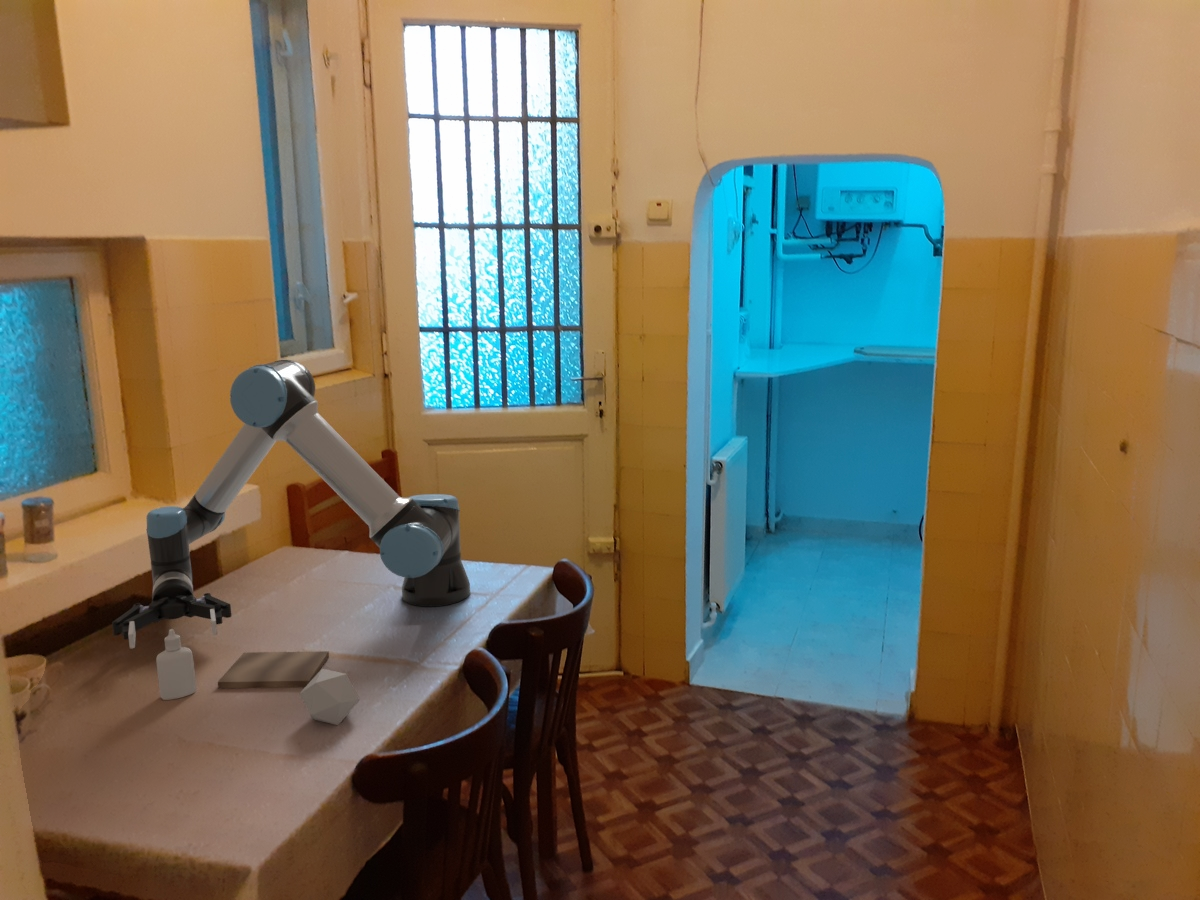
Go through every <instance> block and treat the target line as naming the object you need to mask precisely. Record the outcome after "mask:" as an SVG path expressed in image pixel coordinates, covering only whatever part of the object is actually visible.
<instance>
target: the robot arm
mask: <svg viewBox="0 0 1200 900" xmlns="http://www.w3.org/2000/svg"><path fill="white" fill-rule="evenodd" d="M314 378H315V377H313V375H312V373H311V371H310V370H309V369H308V368H307V367H306V366H304V365H303V364H302V363H300V362H297V361H295V360H291V359H280V360H276V361H272V362H269V363H268V362H267V363H264V364H256V365H253V366H250V367H249V368H248V369H245V370H243V371H241V372H240V374H238V375H237V376H236V378H235V379H234V380H233V383H232V385H231V387H230V393H229V394H230V395H229V396H230V397H229V398H230V399H229V400H230V405H231V409H232V411H233V413H234V414H235V416H236V417H237V418H238V419H239V420H240V421H241V422H242V423H243V425H242V426H241V428H240V429H239V430H238V432H237V434H236V435H235V437H234V438H233V439H232V440H231V442H230V444H229V445H228V446H227V448H226V449H225V450H224V452H223V454H222V455H221V457H220V458H219V459H218V461H217V462H216V463H215V465H214V467H213V468H211V471H210V472H209V474H208V475H207V476H206V478H204V480H203V482H202V483H201V485H200V486H199V487H198V488H197V490H196V492H195V493H194V495H193V496H192V498H190V500H189V502H188V503H187V504H186V506H184V507H181V506H180V507H179V506H175V505H174V506H170V505H169V506H163V507H162V506H161V507H159V508H154V509H152V510H150V511H149V512H147V514H146V534H147V541H148V550H149V551H148V552H149V557H150V568H151V576H152V577H151V578H152V598H151V603H149V605H145V606H144V605H142V604H141V603H140V602H136V603H134V604H133V605H132V607H131V608H130V609H129V610H127V611H126V612H125V613H123V614H122V615H120V616H119V617H117V618H116V619H115V620H113V621H112V622H111V623H112V624H111V627H112V634H113V636H120V635H122V638H123V640H128V645H129V649H135V648H136V636H137V633H136V632H137V631H140V630H141V629H143V628H145V627H147V626H149V625H150V624H153V623H156V624H157V623H159V622H161V621H163V620H177V619H180V618H183V617H187V618H193V617H198V618H203V619H207V620H210V624H211V632H212V636H217V635H218V629H217V625H221V624H223V618H226V619H229V618H231V617H232V607H231V603H229V602H226V601H224V600H221V599H218V598H217V597H214V596H212V594H211V593H209V592H205V593H204V594H203V596H201V597H200V598H196V597H195V596H194V585H193V579H194V578H193V570H192V569H193V568H192V564H191V555H190V554H191V553H190V545H191V544H192V543H194V542H195V541H197V540H198V539H201V538H203V537H205V535H208V534H210V533H212V532H214V531H216V530H217V529H218V527H220V526H221V525H223V522H224V521H225V518H226V517H225V516H226V511H227V510H228V509H229V508H230V506H231V504H232V503H233V502H234V500H235V499H236V497H237V496H238V495H239V494H240V492H241V491H242V489H243V488H244V487H245V485H246V484H247V483H248V481H250V478H251V477H252V475H253V474H254V473H255V471H256V470H257V469H258V468H259V466H260V465H261V463H262V462H263V461H264V459H265V458H266V457H267V455H268V453H269V452H270V451H271V450H272V448H273V447H274V445H275V444H276V443H277V442H285V443H287V444H288V446H289V447H291V448H292V450H294V452H296V453H297V455H298V456H299V457H300V458H301V459H302V460H304V462H305V463H306V464H307V465H308V466H309V467H310V468H311V469H313V471H314V472H315V473H316V474H317V475H318V476H319V477H320V478H321V479H322V480H323V481H324V482H325V483H326V484H327V485H328V486H329V487H330V489H332V490H333V491H334V492H335V494H337V495H338V497H340V499H342V500H343V501H344V502H345V504H347V505H348V506H349V508H351V509H352V510H353V511H354V513H356V515H358V517H359V518H360V519H361V520H362V521H363V522H364V523H365V524H366V525H368V528H369V538H370V539H371V540H372V542H373V543H375V545H376V546H377V547H378V548H379V556H380V560H381V561H382V564H383V565H384V566H385V568H386V569H388V571H390V572H391V573H393V574H394V575H396V576H398V577H400V578H403V582H402V586H401V597H402V600H403V601H404V602H406V603H407V604H409V605H413V606H418V607H440V606H441V607H442V606H447V605H452V604H456V603H458V602H461V601H463V600H464V599H466V598H468V597H469V595H470V593H471V583H470V580H469V577H468V574H467V572H466V570H465V569H466V568H465V567H464V564H463V561H462V554H461V551H462V549H461V527H460V524H461V523H460V511H461V510H460V506H459V505H460V504H459V500H458V498H457V497H456V496H454V495H450V494H442V493H440V494H439V493H433V494H431V493H430V494H426V493H425V494H417V495H416V494H415V495H411V496H409V497H401V496H400V495H399V494H398V493H397V492H396V491H395V490H394V489H393V488H392V487H391V486H390V485H389V484H388V483H387V482H386V481H385V480H384V479H383V477H381V476H380V475H379V474H378V472H376V471H375V470H374V469H373V468H372V467H371V466H370V464H368V462H367V461H366V460H365V459H364V458H362V456H361V455H360V454H359V453H358V452H357V451H356V450H355V449H354V448H353V447H352V446H351V445H350V444H349V443H348V442H347V441H346V440H345V439H344V438H343V437H342V436H341V435H340V434H339V432H337V431H336V430H335V428H334V427H333V426H332V425H330V424H329V422H328V421H327V420H326V419H325V418H324V417H323V416H322V415H321V414H320V413H319V402H318V400H317V399H316V398H315V394H316V382H315V379H314Z"/></svg>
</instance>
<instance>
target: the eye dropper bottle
mask: <svg viewBox="0 0 1200 900" xmlns="http://www.w3.org/2000/svg"><path fill="white" fill-rule="evenodd" d="M163 641H164V648H165V649H164V650H163V651H162V652H160V653H158V654H157V656H156V658H155V659H156V660H155V661H156V670H157V671H156V672H157V679H158V687H159V695H160V698H161V699H162V701H163V700H164V701H169V700H177V699H181V698H185V697H187V696H190V695H192V694H194V693H196V691H197V680H196V679H197V678H196V672H195V671H196V670H195V662H194V656H193V652H192V650H191V649H190V648H189V647H186V646H182V641H181V636H180V635H179V634H176V632H175V630H174V628H171V629H168V635H167V636H166V637H164V640H163Z"/></svg>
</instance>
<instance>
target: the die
mask: <svg viewBox="0 0 1200 900" xmlns="http://www.w3.org/2000/svg"><path fill="white" fill-rule="evenodd" d="M299 695H300V697H301V699H302V701H303V702H302V703H304V705H305V708H306V709H307V712H308V714H309V716H310V718H312V720H315V721H319V722H322V723H328V724H330V725H335V726H339V725H340V724H341V723H342V721H343V720H344V719H346V717H347V716H348V715H349V713H350V712H351V711H352V710H353V709H354V707H355V706H356V705H357V704H358V703H359V702H360V698H359V696H358V694H357V692H356V690H355V688H354V686H353V683H352V682H351V679H350V678H349V676H348V673H345V672H339V671H334V670H330V669H326V668H322V669H321V670H320V671H319V672H318V674H317V675H316V676H315V677H314V678H313V679H312V680H311V681H310V682H309V684H308V685H307V686H306V687H303V688H302V690H301V691H300V692H299Z"/></svg>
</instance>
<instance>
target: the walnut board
mask: <svg viewBox="0 0 1200 900" xmlns="http://www.w3.org/2000/svg"><path fill="white" fill-rule="evenodd" d="M329 658H330V652H329V651H327V650H326V651H325V650H324V651H267V652H266V651H265V652H262V651H259V652H258V651H256V652H243V653H242V654H241V655H240V656H239V657H238V658H237V659H236V660H235V662H234V663H233V664H232V665H231V666H230V668H228V670H227V671H226V672H225V673H224V674H223V675H222V676H221V678H219V680H218V681H217V688H218V689H260V688H261V689H262V688H263V689H264V688H266V689H267V688H277V689H278V688H305V687H306V686H307V685H308V684H309V682H310V681H311V680H312V679H313V678H314V677H315V676H316V675H317V674H318V672H319V671H320V670H321V669H323V668H324V666H325V664H326V663H327V661H328V659H329Z"/></svg>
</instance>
